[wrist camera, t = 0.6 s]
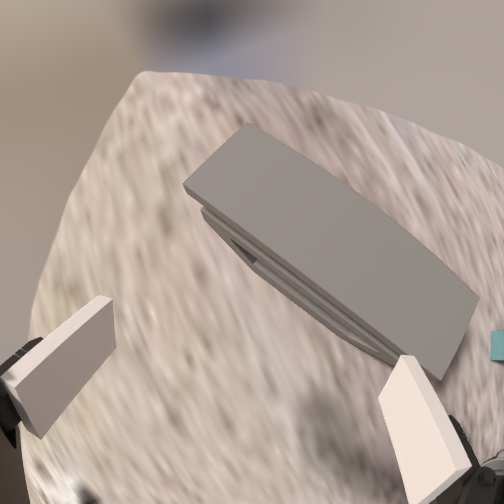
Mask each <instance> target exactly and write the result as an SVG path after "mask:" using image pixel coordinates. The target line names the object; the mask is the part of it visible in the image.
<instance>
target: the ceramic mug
mask: <svg viewBox="0 0 504 504" xmlns="http://www.w3.org/2000/svg"><path fill="white" fill-rule="evenodd" d="M482 466H486V467H489V468H491V469H492V470H493V471H494V472H495V473H496V475H504V450H502V451H500V452H499V454H498V456H497V457H496V459H492V460H489V461H487V462H486V463H484V464H482V465H481V467H482Z"/></svg>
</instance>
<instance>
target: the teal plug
mask: <svg viewBox="0 0 504 504" xmlns="http://www.w3.org/2000/svg"><path fill="white" fill-rule="evenodd" d="M491 360H504V330H499V331H492V336H491Z"/></svg>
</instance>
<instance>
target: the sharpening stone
mask: <svg viewBox="0 0 504 504" xmlns="http://www.w3.org/2000/svg"><path fill="white" fill-rule="evenodd" d="M183 186H184V188H185V190H186V192H187V194H189V195H190V196H191V197H193V198H194V199H195V200H197V201H198V202H199V203H201V204H202V205H203V206H204V207H203V208H202V209H201V212H202V215H203V217H204V220H205V221H206V222H207V223H208V224H209V225H210V226H211V227H212V228H213V229H214V230H215V231H216V233H217V234H218V235H219V236H220V237H221V238H222V239H223V240H224V241H225V242H226V243H227V244H228V245H229V246H230V247H231V248H232V249H233V250H234V252H235V253H236V254H237V255H238V256H239V257H240V258H241V259H242V260H243V261H244V262H245V263H246V264H247V265H248V266H249V267H250V268H251V269H252V270H253V271H254V272H255V273H256V274H258V275H259V276H260V277H261V278H263V279H264V280H265V281H267V282H268V283H269V284H271V285H272V286H273V287H274V288H276V289H277V290H278V291H280V292H281V293H282V294H284V295H285V296H286V297H287V298H289V299H290V300H291V301H293V302H294V303H295V304H297V305H298V306H299V307H300V308H302V309H303V310H304V311H306V312H307V313H308V314H310V315H311V316H312V317H314V318H315V319H316V320H318V321H319V322H320V323H322V324H323V325H324V326H325V327H327V328H328V329H329V330H331V331H332V332H333V333H335V334H336V335H337V336H339V337H340V338H342V339H344V340H346V341H348V342H349V343H351V344H353V345H355V346H357V347H359V348H361V349H362V350H364V351H366V352H368V353H370V354H372V355H374V356H376V357H377V358H379V359H381V360H383V361H385V362H387V363H389V364H391V365H393V366H396V364H397V362H398V360H399V358H400V356H401V355H411V356H415V358H416V360H417V361H418V363H419V365H420V366H421V368H422V370H423V371H424V373H425V375H426V376H427V377H428V378H430V379H432V380H439V381H441V380H442V378H443V376H444V374H445V372H446V371H447V369H448V367H449V365H450V363H451V361H452V359H453V357H454V355H455V353H456V351H457V349H458V347H459V345H460V343H461V341H462V339H463V336H464V334H465V332H466V330H467V327H468V325H469V323H470V320H471V318H472V315H473V313H474V310H475V308H476V305H477V303H478V300H479V297H478V296H477V295H476V294H475V293H474V292H473V291H472V290H471V289H470V288H469V287H468V286H467V285H466V284H465V283H464V282H463V281H462V280H461V279H460V278H459V277H458V276H457V275H456V274H455V273H454V272H453V271H452V270H451V269H450V268H449V267H448V266H447V265H446V264H444V263H443V262H442V261H441V260H440V259H439V258H438V257H437V256H436V255H435V254H433V253H432V252H431V251H430V250H429V249H428V248H427V247H426V246H424V245H423V244H422V243H421V242H420V241H419V240H417V239H416V238H415V237H414V236H413V235H412V234H410V233H409V232H408V231H407V230H406V229H404V228H403V227H402V226H401V225H399V224H398V223H397V222H396V221H394V220H393V219H392V218H391V217H389V216H388V215H387V214H386V213H384V212H383V211H382V210H380V209H379V208H378V207H377V206H375V205H374V204H373V203H371V202H370V201H369V200H367V199H366V198H365V197H363V196H362V195H361V194H359V193H358V192H356V191H355V190H354V189H352V188H351V187H349V186H348V185H347V184H345V183H344V182H342V181H341V180H340V179H338V178H337V177H335V176H334V175H332V174H331V173H329V172H328V171H326V170H325V169H323V168H322V167H320V166H319V165H317V164H316V163H314V162H313V161H311V160H310V159H308V158H307V157H305V156H304V155H302V154H300V153H299V152H297V151H296V150H294V149H292V148H291V147H289V146H288V145H286V144H284V143H283V142H281V141H279V140H278V139H276V138H274V137H273V136H271V135H269V134H267V133H266V132H264V131H262V130H260V129H259V128H257V127H255V126H253V125H252V124H250V123H248V122H247V123H246V124H245V125H244V126H243V127H242V128H241V129H239V130H238V131H237V132H236V133H235V134H234V135H233V136H232V137H231V138H230V139H228V140H227V141H226V142H225V143H224V144H223V145H222V146H221V147H220V148H219V149H218V150H217V151H216V152H214V153H213V154H212V155H211V156H210V157H209V158H208V159H207V160H206V161H205V162H204V163H203V164H202V165H201V166H200V167H199V168H198V169H197V170H196V171H195V172H194V173H193V174H192V175H191V176H190V177H189V178H188V179H187V180H186V181H185V182H184V183H183Z"/></svg>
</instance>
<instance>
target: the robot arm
mask: <svg viewBox="0 0 504 504" xmlns="http://www.w3.org/2000/svg"><path fill="white" fill-rule="evenodd" d="M115 348H116V341H115V330H114V316H113V299H111V298H107V297H104V296H101V295H98V296H97V297H96V298H94V299H93V300H92V301H90V302H89V303H88V304H87V305H85V306H84V307H83V308H81V309H80V310H79V311H78V312H76V313H75V314H74V315H73V316H71V317H70V318H69V319H68V320H66V321H65V322H64V323H63V324H61V325H60V326H59V327H58V328H56V329H55V330H54V331H53V332H52V333H50V334H49V335H48V336H47V337H46V338H44V339H43V338H41V337H39V338H36V339H34V340H31V341H29V342H28V343H27V344H26V345H24V346H23V347H22V349H19V350H18V351H17V352H16V353H15V355H13V356H11V357H10V358H9V359H8V360H6V361H5V362H4V363H3V364H2V365H1V366H0V504H30V500H29V495H28V490H27V485H26V480H25V474H24V468H23V460H22V452H21V442H20V430H19V427H18V423H19V422H20V421H22V422H23V424H24V426H25V428H26V429H27V430H28V431H29V432H31V433H32V434H34V435H35V436H36V437H38V438H39V439H42V438H43V436H44V435H45V434H46V433H47V431H48V430H49V429H50V427H51V426H52V425H53V424H54V422H55V421H56V420H57V419H58V417H59V416H60V415H61V413H62V412H63V411H64V410H65V408H66V407H67V406H68V405H69V403H70V402H71V401H72V400H73V399H74V397H75V396H76V395H77V394H78V392H79V391H80V390H81V389H82V388H83V386H84V385H85V384H86V383H87V381H88V380H89V379H90V378H91V377H92V375H93V374H94V373H95V372H96V371H97V370H98V368H99V367H100V366H101V365H102V364H103V362H104V361H105V360H106V359H107V358H108V357H109V355H110V354H111V353H112V352H113V351H114V350H115ZM378 400H379V403H380V406H381V409H382V412H383V415H384V418H385V421H386V424H387V427H388V431H389V434H390V437H391V440H392V444H393V447H394V450H395V454H396V457H397V461H398V464H399V468H400V472H401V475H402V479H403V483H404V487H405V491H406V495H407V499H408V503H409V504H429V503H430V502H431V501H433V500H434V499H435V498H436V501H437V504H504V475H496V473H495V472H494V471H493V470H492V469H491V468H489V467H486V466H482V467H481V466H480V465H479V463H478V460H477V458H476V456H475V454H474V452H473V450H472V448H471V446H470V444H469V442H468V441H467V438H466V436H465V434H463V430H462V428H461V426H460V424H459V422H458V421H457V420H456V419H455V418H454V417H453V416H452V415H447V413H446V411H445V409H444V407H443V406H442V404H441V402H440V400H439V398H438V396H437V394H436V393H435V391H434V389H433V387H432V385H431V384H430V382H429V380H428V378H427V377H426V375H425V373H424V371H423V370H422V368H421V366H420V365H419V363H418V361H417V360H416V358H415V356H411V355H401V356H400V358H399V360H398V362H397V364H396V366H395V368H394V370H393V372H392V373H391V375H390V377H389V379H388V381H387V383H386V385H385V386H384V388H383V390H382V392H381V394H380V395H379V397H378Z"/></svg>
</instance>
